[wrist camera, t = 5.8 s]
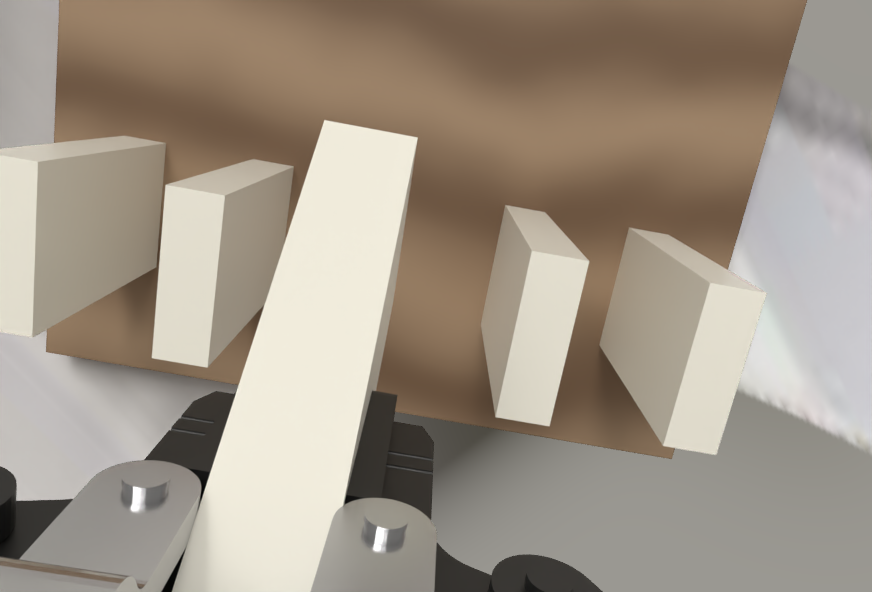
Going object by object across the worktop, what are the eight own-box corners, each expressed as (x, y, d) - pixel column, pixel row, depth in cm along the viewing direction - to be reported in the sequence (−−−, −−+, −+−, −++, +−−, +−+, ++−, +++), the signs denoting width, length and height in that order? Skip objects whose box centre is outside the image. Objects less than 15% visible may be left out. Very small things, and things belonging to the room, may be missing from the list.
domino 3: (323, 290, 16) (196, 763, 11) (324, 120, 12) (123, 742, 7) (393, 303, 16) (300, 778, 11) (417, 137, 12) (290, 767, 7)
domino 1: (116, 260, 29) (-25, 327, 20) (124, 135, 28) (-23, 151, 19) (156, 267, 29) (32, 337, 20) (165, 143, 28) (37, 161, 19)
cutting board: (91, -165, 27) (66, -184, 25) (794, -27, 27) (817, -36, 26) (67, 338, 32) (46, 351, 30) (659, 440, 33) (671, 459, 31)
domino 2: (239, 281, 29) (151, 357, 20) (253, 158, 28) (165, 184, 19) (278, 288, 29) (207, 367, 20) (293, 166, 28) (224, 195, 19)
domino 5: (599, 345, 30) (663, 446, 21) (629, 227, 28) (710, 282, 20) (636, 351, 30) (716, 455, 21) (668, 234, 28) (767, 293, 20)
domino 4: (480, 324, 29) (495, 416, 21) (505, 205, 28) (531, 250, 19) (518, 330, 29) (549, 426, 21) (544, 212, 28) (589, 261, 19)
